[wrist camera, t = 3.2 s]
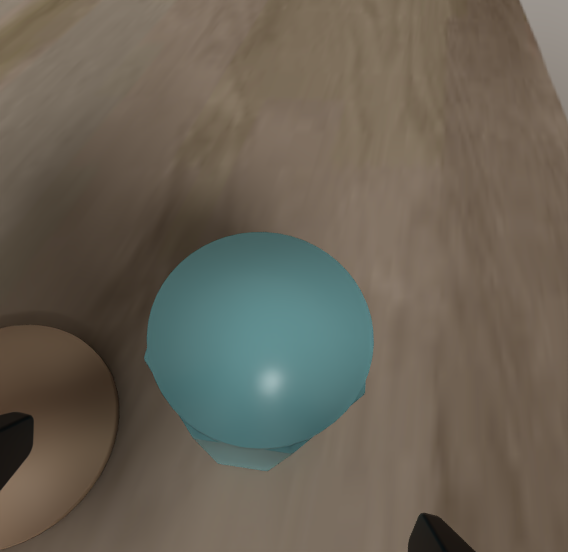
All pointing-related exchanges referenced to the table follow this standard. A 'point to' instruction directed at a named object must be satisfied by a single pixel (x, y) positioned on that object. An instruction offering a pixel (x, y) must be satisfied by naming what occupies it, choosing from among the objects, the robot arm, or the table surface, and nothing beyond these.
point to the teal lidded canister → (259, 345)
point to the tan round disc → (54, 425)
